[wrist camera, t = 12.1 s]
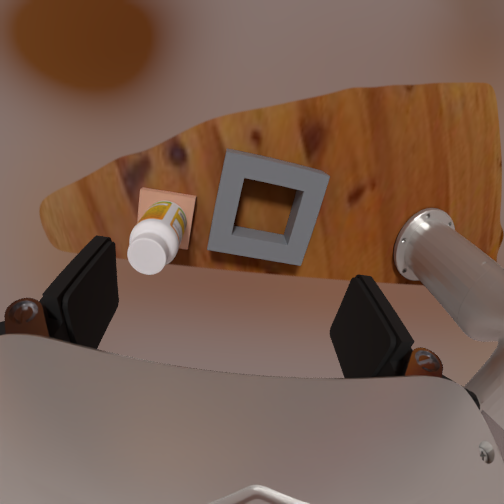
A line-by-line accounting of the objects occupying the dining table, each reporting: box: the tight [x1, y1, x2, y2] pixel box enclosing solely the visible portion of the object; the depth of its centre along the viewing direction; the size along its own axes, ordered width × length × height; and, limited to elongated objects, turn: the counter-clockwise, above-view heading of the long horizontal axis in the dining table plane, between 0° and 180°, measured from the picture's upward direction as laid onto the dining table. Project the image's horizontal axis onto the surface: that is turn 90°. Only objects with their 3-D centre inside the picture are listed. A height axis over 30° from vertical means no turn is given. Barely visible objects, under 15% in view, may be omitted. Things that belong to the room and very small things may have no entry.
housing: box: [207, 149, 330, 266], centre depth 34 cm, size 12×12×3 cm
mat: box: [138, 188, 196, 250], centre depth 35 cm, size 7×7×1 cm
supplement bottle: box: [127, 201, 187, 275], centre depth 30 cm, size 5×5×10 cm
